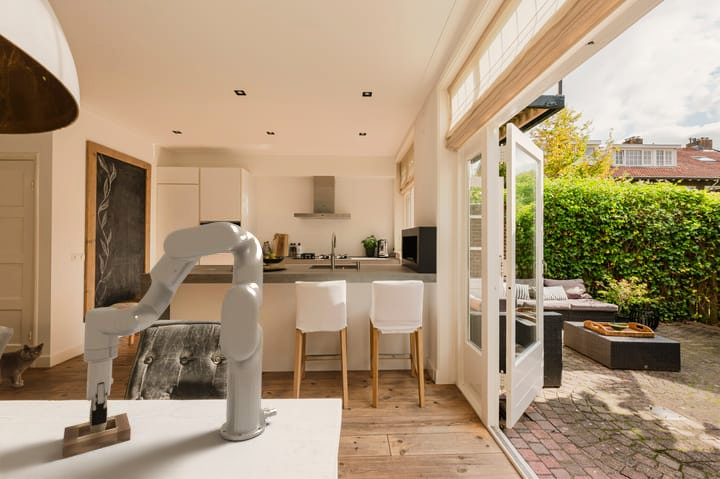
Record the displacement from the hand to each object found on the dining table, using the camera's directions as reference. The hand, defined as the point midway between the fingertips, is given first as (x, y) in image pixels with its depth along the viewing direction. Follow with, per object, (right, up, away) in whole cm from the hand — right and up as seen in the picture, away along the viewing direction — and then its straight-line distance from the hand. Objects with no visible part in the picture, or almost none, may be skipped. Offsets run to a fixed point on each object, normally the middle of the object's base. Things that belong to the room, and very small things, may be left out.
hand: (98, 420), depth 92 cm
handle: (0, -4, 0) cm, 4 cm away
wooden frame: (0, -5, 0) cm, 5 cm away
